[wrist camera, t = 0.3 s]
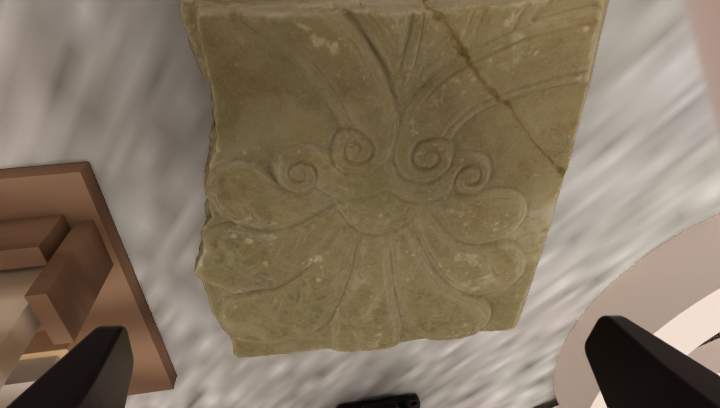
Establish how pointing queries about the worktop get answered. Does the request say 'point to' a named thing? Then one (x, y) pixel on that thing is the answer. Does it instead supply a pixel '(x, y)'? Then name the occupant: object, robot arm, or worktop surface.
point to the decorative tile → (383, 163)
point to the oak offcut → (47, 347)
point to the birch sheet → (15, 316)
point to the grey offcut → (24, 377)
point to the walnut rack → (77, 264)
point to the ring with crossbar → (653, 310)
